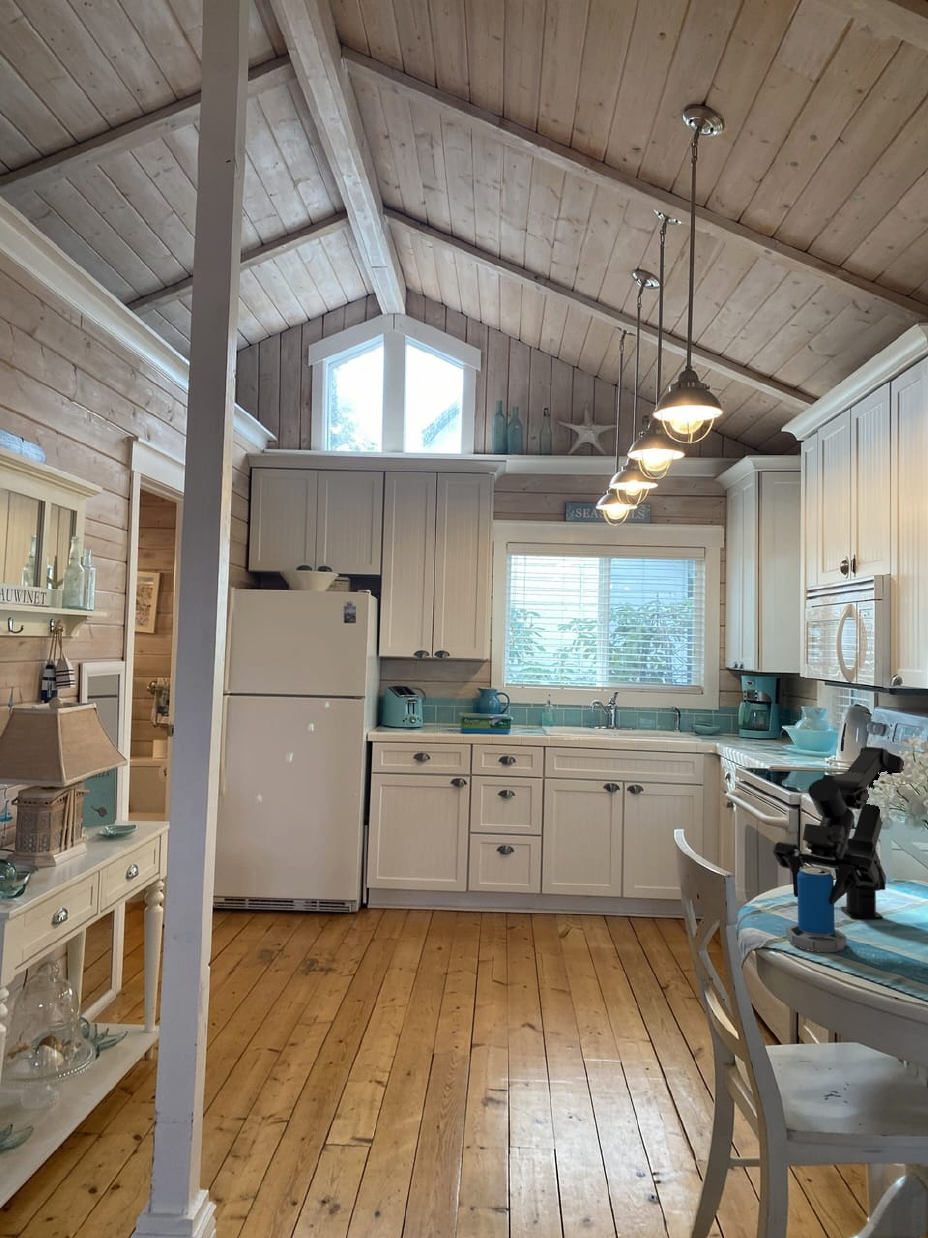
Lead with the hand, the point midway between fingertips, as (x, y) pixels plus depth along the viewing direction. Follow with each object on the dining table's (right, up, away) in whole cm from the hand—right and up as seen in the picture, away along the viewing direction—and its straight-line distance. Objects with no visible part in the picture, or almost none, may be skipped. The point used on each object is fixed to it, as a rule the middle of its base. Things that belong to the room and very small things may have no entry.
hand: (812, 899), depth 160 cm
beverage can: (+1, -7, +1) cm, 7 cm away
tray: (+1, -9, +1) cm, 9 cm away
